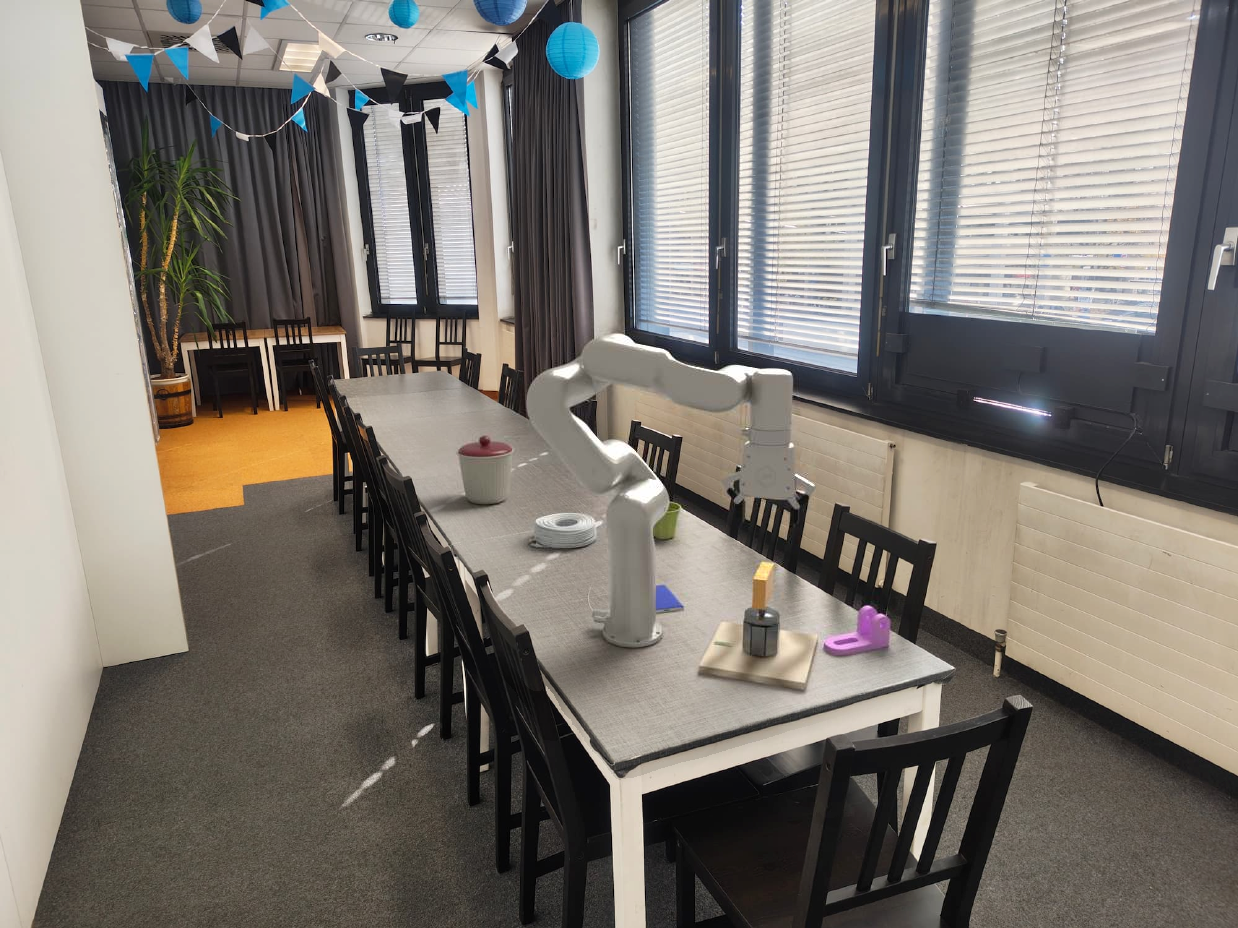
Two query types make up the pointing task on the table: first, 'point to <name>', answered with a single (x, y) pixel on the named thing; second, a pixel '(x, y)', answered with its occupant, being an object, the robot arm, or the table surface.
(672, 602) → the hard drive
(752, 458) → the robot arm
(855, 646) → the bracket
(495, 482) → the canister
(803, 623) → the table surface
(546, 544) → the cable
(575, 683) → the table surface
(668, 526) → the plant pot
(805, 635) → the post plate
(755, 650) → the motor
